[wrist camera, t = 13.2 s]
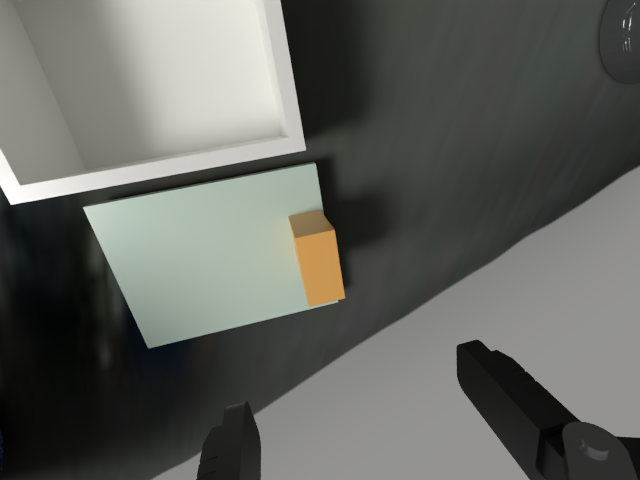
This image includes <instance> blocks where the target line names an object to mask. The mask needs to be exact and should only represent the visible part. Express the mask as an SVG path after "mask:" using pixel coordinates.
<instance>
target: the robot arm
mask: <svg viewBox="0 0 640 480" xmlns="http://www.w3.org/2000/svg"><path fill="white" fill-rule="evenodd" d="M599 45H600V55H601V58H602V61H603V64H604V66H605V68H606V70H607V71H608V73H609V74H610V75H611V76H612V77H613V78H614V79H615V80H618V81H620V82H622V83H629V84H635V83H640V0H609V1H608V4H607V6H606V9H605V12H604V14H603V19H602V23H601V28H600V39H599ZM457 378H458V381H459V384H460V386H461V388H462V390H463V391H464V393H465V394H466V396H467V397H468V398H469V400H470V401H471V402H472V403H473V405H474V406H475V407H476V409H477V410H478V411H479V413H480V414H481V415H482V417H483V418H484V419H485V421H486V422H487V423H488V425H489V426H490V427H491V429H492V430H493V431H494V433H495V434H496V435H497V437H498V438H499V439H500V440H501V442H502V443H503V445H504V446H505V447H506V449H507V450H508V451H509V453H510V454H511V455H512V457H513V458H514V459H515V460H516V462H517V463H518V464H519V466H520V467H521V468H522V470H523V471H524V472H525V474H526V475H527V476H528V478H529V479H530V480H640V438H631V437H616V436H614V435H612V434H611V433H610V432H608V431H606V430H605V429H603V428H601V427H599V426H596V425H594V424H590V423H586V422H581V421H580V420H578V419H577V418H576V417H575V416H574V415H573V414H572V413H571V412H569V411H568V410H567V409H566V408H565V407H564V406H563V405H562V404H561V403H560V402H559V401H558V400H557V399H556V398H554V397H553V396H552V395H551V394H550V393H549V392H548V391H547V390H546V389H545V388H544V387H542V385H540V384H539V383H538V382H537V381H535V380H534V378H533V377H532V376H531V375H530V374H529V373H528V372H525V370H524V369H523V368H522V367H521V366H520V365H519V364H518V363H517V362H516V361H515V360H514V359H512V358H511V357H509V356H507V355H505V354H503V353H501V352H499V351H497V350H495V351H490V350H489V349H488V348H487V347H486V346H485V345H484V344H483V343H482V342H481V341H479V340H474V341H470V342H466V343H463V344H459V345H458V346H457ZM260 478H261V443H260V436H259V431H258V428H257V425H256V422H255V420H254V417H253V414H252V411H251V408H250V406H249V403H248V402H247V401H246V402H243V403H239V404H235V405H232V406H228V407H226V408H225V411H224V418H223V424H222V425H221V426H218V427H214V428H212V429H211V431H210V433H209V435H208V436H207V438H206V440H205V442H204V444H203V448H202V453H201V458H200V465H199V468H198V473H197V479H196V480H260Z"/></svg>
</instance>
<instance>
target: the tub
mask: <svg viewBox="0 0 640 480" xmlns="http://www.w3.org/2000/svg"><path fill="white" fill-rule="evenodd" d="M305 150H306V147H305V141H304V135H303V130H302V124H301V118H300V112H299V106H298V101H297V95H296V89H295V83H294V77H293V71H292V66H291V60H290V54H289V48H288V42H287V37H286V31H285V25H284V19H283V13H282V7H281V2H280V0H0V186H1V187H2V189H3V191H4V193H5V195H6V197H7V198H8V200H9V202H10V204H11V205H13V204H18V203H23V202H29V201H34V200H40V199H45V198H50V197H56V196H61V195H67V194H72V193H78V192H83V191H88V190H94V189H99V188H105V187H110V186H115V185H121V184H126V183H132V182H137V181H142V180H148V179H153V178H159V177H164V176H169V175H175V174H180V173H186V172H191V171H197V170H202V169H207V168H213V167H218V166H224V165H229V164H234V163H240V162H245V161H251V160H256V159H261V158H267V157H272V156H278V155H283V154H288V153H294V152H299V151H305Z"/></svg>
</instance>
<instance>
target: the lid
mask: <svg viewBox="0 0 640 480" xmlns="http://www.w3.org/2000/svg"><path fill="white" fill-rule="evenodd" d="M83 209H84V211H85V213H86V215H87V217H88V219H89V221H90V224H91V226H92V228H93V230H94V232H95V234H96V237H97V239H98V241H99V243H100V245H101V247H102V250H103V252H104V254H105V256H106V258H107V260H108V262H109V265H110V267H111V269H112V271H113V273H114V275H115V278H116V280H117V282H118V284H119V286H120V288H121V291H122V293H123V295H124V297H125V299H126V301H127V304H128V306H129V308H130V310H131V312H132V314H133V316H134V319H135V321H136V323H137V325H138V327H139V329H140V332H141V334H142V336H143V338H144V340H145V342H146V345H147V347H148V349H149V348H153V347H157V346H161V345H165V344H169V343H173V342H177V341H181V340H185V339H190V338H194V337H198V336H202V335H206V334H210V333H214V332H218V331H222V330H226V329H230V328H235V327H239V326H243V325H247V324H251V323H255V322H259V321H263V320H267V319H271V318H275V317H280V316H284V315H288V314H292V313H296V312H300V311H304V310H308V309H312V308H316V307H320V306H324V305H329V304H333V303H337V302H338V300H340V299H344V298H345V295H344V288H343V281H342V275H341V268H340V262H339V255H338V248H337V242H336V235H335V230H334V228H333V227H332V225H331V224H330V223H329V221H328V220H327V219H326V217H325V216H324V211H323V205H322V199H321V193H320V187H319V181H318V174H317V168H316V163H314V162H310V163H305V164H300V165H294V166H289V167H284V168H278V169H273V170H268V171H262V172H257V173H252V174H247V175H241V176H236V177H231V178H225V179H220V180H215V181H210V182H204V183H199V184H194V185H188V186H183V187H178V188H172V189H167V190H162V191H157V192H151V193H146V194H141V195H135V196H130V197H125V198H120V199H114V200H109V201H104V202H98V203H93V204H89V205H87V206H85V207H83Z"/></svg>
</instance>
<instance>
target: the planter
mask: <svg viewBox="0 0 640 480" xmlns="http://www.w3.org/2000/svg"><path fill="white" fill-rule="evenodd" d="M3 457H4V446H3V437H2V432H1V429H0V476H1V472H2V465H3Z"/></svg>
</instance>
